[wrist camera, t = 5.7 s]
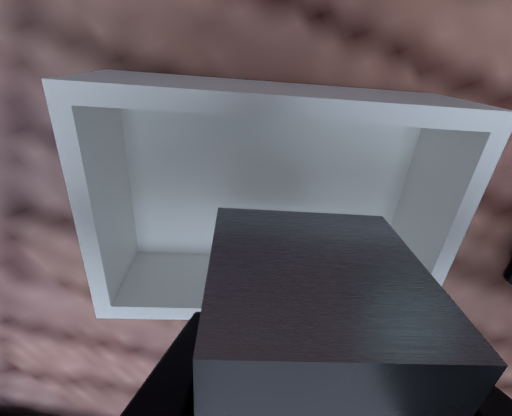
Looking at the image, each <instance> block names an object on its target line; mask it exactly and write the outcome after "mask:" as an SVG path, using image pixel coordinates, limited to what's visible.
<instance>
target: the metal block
mask: <svg viewBox="0 0 512 416" xmlns="http://www.w3.org/2000/svg"><path fill="white" fill-rule="evenodd" d="M507 366H508V365H507V364H506V363H505V362H504V361H503V359H502V358H501V357H500V356H499V355H498V353H497V352H496V351H495V350H494V349H493V347H492V346H491V345H490V344H489V343H488V342H487V340H486V339H485V338H484V337H483V336H482V334H481V333H480V332H479V331H478V330H477V328H476V327H475V326H474V325H473V324H472V322H471V321H470V320H469V319H468V318H467V316H466V315H465V314H464V313H463V312H462V311H461V309H460V308H459V307H458V306H457V305H456V303H455V302H454V301H453V300H452V299H451V297H450V296H449V295H448V294H447V293H446V291H445V290H444V289H443V288H442V287H441V285H440V284H439V283H438V282H437V281H436V279H435V278H434V277H433V276H432V275H431V274H430V272H429V271H428V270H427V269H426V268H425V266H424V265H423V264H422V263H421V262H420V260H419V259H418V258H417V257H416V256H415V254H414V253H413V252H412V251H411V250H410V248H409V247H408V246H407V245H406V244H405V242H404V241H403V240H402V239H401V238H400V237H399V235H398V234H397V233H396V232H395V231H394V229H393V228H392V227H391V226H390V225H389V223H388V222H387V221H386V220H385V219H384V217H383V216H372V215H353V214H334V213H314V212H295V211H276V210H257V209H238V208H218V211H217V217H216V223H215V229H214V235H213V241H212V247H211V253H210V259H209V265H208V271H207V277H206V283H205V289H204V295H203V301H202V307H201V313H200V319H199V325H198V331H197V337H196V343H195V349H194V355H193V387H194V416H474V414H475V413H476V411H477V410H478V408H479V407H480V406H481V404H482V403H483V401H484V400H485V398H486V397H487V395H488V394H489V393H490V391H491V390H492V388H493V387H494V385H495V384H496V382H497V381H498V379H499V378H500V377H501V375H502V374H503V372H504V371H505V369H506V368H507Z"/></svg>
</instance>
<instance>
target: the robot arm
mask: <svg viewBox="0 0 512 416" xmlns="http://www.w3.org/2000/svg"><path fill="white" fill-rule="evenodd" d="M504 278H505V280H506V281H508V282H509V283H510V284H512V263H511V265H510V267H509V269H508V271H507V272H506V274H505V277H504ZM200 313H201V312H195V313H194V314H193V316H192V317H191V318H190V320H189V321H188V322H187V324H186V325H185V327H184V328H183V329H182V331H181V332H180V333H179V335H178V336H177V338H176V339H175V340H174V342H173V343H172V345H171V346H170V347H169V349H168V350H167V351H166V353H165V354H164V356H163V357H162V358H161V360H160V361H159V363H158V364H157V365H156V367H155V368H154V369H153V371H152V372H151V374H150V375H149V376H148V378H147V379H146V381H145V382H144V383H143V385H142V386H141V387H140V389H139V390H138V392H137V393H136V394H135V396H134V397H133V398H132V400H131V401H130V403H129V404H128V405H127V407H126V408H125V410H124V411H123V412H122V414H121V415H120V416H194V387H193V355H194V349H195V343H196V337H197V331H198V325H199V319H200ZM474 416H512V399H511V398H510V397H508V396H507V395H506V394H505V393H503V392H502V391H501V390H499V389H498V388H497V387H496V386H494V387H493V388H492V390H491V391H490V393H489V394H488V395H487V397H486V398H485V400H484V401H483V403H482V404H481V406H480V407H479V408H478V410H477V411H476V413H475V414H474Z"/></svg>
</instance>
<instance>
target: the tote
mask: <svg viewBox="0 0 512 416" xmlns="http://www.w3.org/2000/svg"><path fill="white" fill-rule="evenodd" d="M41 80H42V84H43V88H44V93H45V97H46V101H47V106H48V110H49V114H50V119H51V123H52V127H53V132H54V136H55V140H56V145H57V149H58V153H59V158H60V162H61V166H62V171H63V175H64V179H65V184H66V188H67V192H68V197H69V201H70V205H71V210H72V214H73V218H74V223H75V227H76V231H77V236H78V240H79V244H80V249H81V253H82V257H83V262H84V266H85V270H86V275H87V279H88V283H89V288H90V292H91V296H92V301H93V305H94V309H95V314H96V318H114V319H171V320H190V318H191V317H192V316H193V314H194V313H195V312H201V307H202V301H203V295H204V289H205V283H206V277H207V271H208V265H209V259H210V253H211V247H212V241H213V235H214V229H215V223H216V217H217V211H218V208H238V209H257V210H276V211H295V212H314V213H334V214H353V215H372V216H383V217H384V219H385V220H386V221H387V222H388V223H389V225H390V226H391V227H392V228H393V229H394V231H395V232H396V233H397V234H398V235H399V237H400V238H401V239H402V240H403V241H404V242H405V244H406V245H407V246H408V247H409V248H410V250H411V251H412V252H413V253H414V254H415V256H416V257H417V258H418V259H419V260H420V262H421V263H422V264H423V265H424V266H425V268H426V269H427V270H428V271H429V272H430V274H431V275H432V276H433V277H434V278H435V279H436V281H437V282H438V283H439V284H440V285H441V287H442V285H443V282H444V280H445V278H446V276H447V274H448V271H449V269H450V267H451V265H452V263H453V260H454V258H455V256H456V254H457V251H458V249H459V247H460V245H461V243H462V240H463V238H464V236H465V234H466V232H467V229H468V227H469V225H470V223H471V220H472V218H473V216H474V214H475V212H476V209H477V207H478V205H479V203H480V201H481V198H482V196H483V194H484V192H485V189H486V187H487V185H488V183H489V181H490V178H491V176H492V174H493V172H494V170H495V167H496V165H497V163H498V161H499V158H500V156H501V154H502V152H503V150H504V147H505V145H506V143H507V141H508V139H509V136H510V134H511V132H512V110H508V109H504V108H499V107H495V106H490V105H486V104H481V103H477V102H472V101H468V100H463V99H459V98H454V97H450V96H445V95H441V94H436V93H422V92H409V91H395V90H381V89H368V88H354V87H340V86H327V85H313V84H299V83H286V82H272V81H258V80H245V79H231V78H217V77H204V76H190V75H176V74H163V73H149V72H135V71H122V70H108V69H105V70H98V71H91V72H84V73H77V74H70V75H63V76H56V77H49V78H42V79H41Z"/></svg>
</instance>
